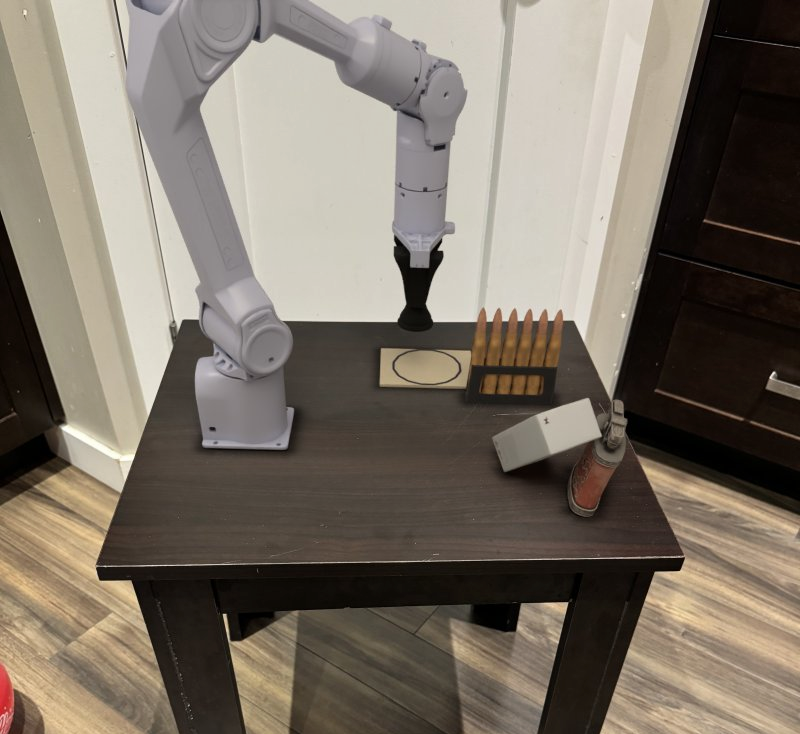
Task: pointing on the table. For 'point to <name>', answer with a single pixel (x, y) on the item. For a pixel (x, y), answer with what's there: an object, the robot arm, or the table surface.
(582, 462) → the lighter
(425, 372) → the drawing pad
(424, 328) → the chess piece
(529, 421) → the cosmetic box
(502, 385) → the ammunition clip
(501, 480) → the table surface
